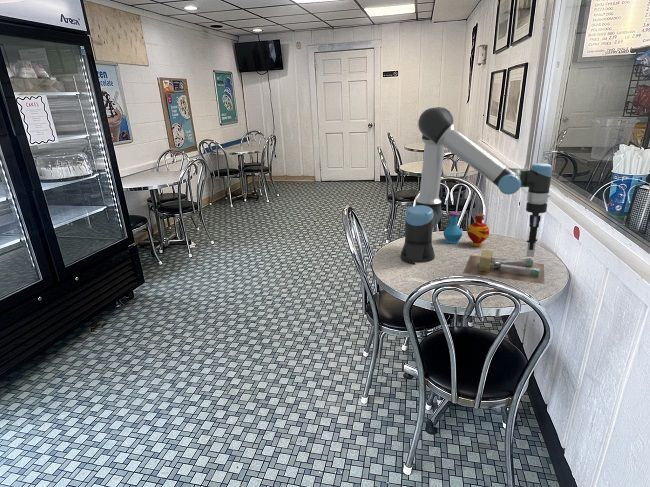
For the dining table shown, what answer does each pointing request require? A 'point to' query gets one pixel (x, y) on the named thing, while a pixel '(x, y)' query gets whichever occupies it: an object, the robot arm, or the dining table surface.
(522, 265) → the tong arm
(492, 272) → the walnut board
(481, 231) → the red yellow vase
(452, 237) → the blue vase
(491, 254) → the translucent yellow block
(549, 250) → the dining table surface
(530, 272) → the tongs fixed arm
